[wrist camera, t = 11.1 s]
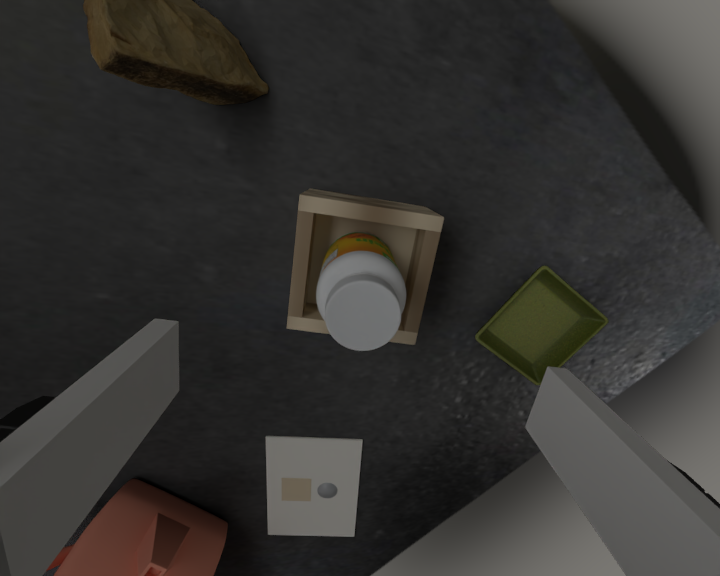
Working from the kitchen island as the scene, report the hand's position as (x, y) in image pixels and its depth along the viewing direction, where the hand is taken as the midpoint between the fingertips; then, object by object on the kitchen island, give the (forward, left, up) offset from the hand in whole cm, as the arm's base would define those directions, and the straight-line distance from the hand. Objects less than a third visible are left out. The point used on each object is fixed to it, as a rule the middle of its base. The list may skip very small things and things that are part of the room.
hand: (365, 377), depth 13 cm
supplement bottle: (0, 0, -16) cm, 16 cm away
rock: (-14, +14, -19) cm, 28 cm away
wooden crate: (0, 0, -19) cm, 19 cm away
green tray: (+17, -4, -20) cm, 26 cm away
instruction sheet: (-1, -27, -19) cm, 33 cm away
